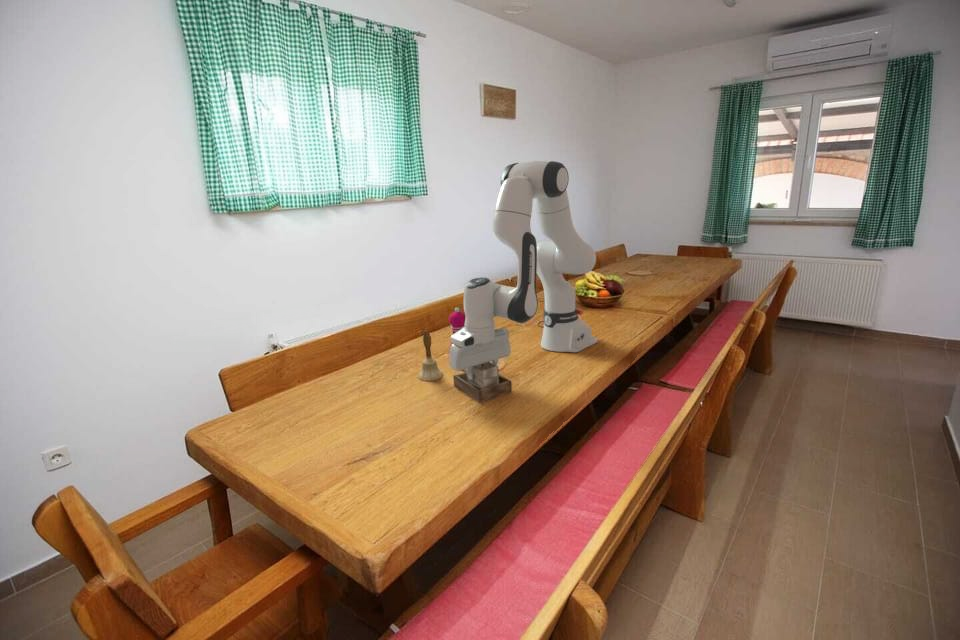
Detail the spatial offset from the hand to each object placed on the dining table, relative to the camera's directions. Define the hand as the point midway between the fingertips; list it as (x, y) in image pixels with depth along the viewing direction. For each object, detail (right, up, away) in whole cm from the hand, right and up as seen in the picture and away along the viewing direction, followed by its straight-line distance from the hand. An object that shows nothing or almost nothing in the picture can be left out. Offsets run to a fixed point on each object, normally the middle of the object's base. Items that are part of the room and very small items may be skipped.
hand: (481, 376), depth 142 cm
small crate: (0, -2, +1) cm, 2 cm away
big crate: (0, -4, +1) cm, 4 cm away
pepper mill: (-8, +2, +23) cm, 24 cm away
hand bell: (-17, -2, +12) cm, 21 cm away
